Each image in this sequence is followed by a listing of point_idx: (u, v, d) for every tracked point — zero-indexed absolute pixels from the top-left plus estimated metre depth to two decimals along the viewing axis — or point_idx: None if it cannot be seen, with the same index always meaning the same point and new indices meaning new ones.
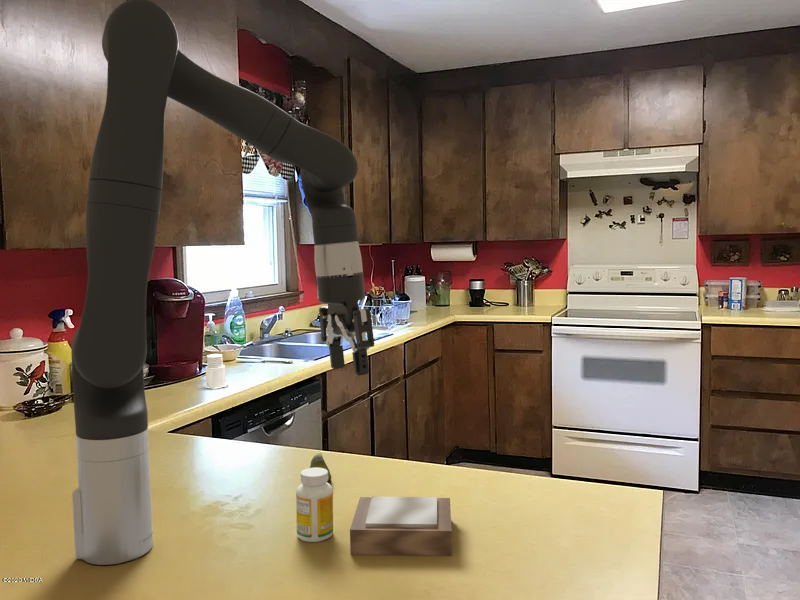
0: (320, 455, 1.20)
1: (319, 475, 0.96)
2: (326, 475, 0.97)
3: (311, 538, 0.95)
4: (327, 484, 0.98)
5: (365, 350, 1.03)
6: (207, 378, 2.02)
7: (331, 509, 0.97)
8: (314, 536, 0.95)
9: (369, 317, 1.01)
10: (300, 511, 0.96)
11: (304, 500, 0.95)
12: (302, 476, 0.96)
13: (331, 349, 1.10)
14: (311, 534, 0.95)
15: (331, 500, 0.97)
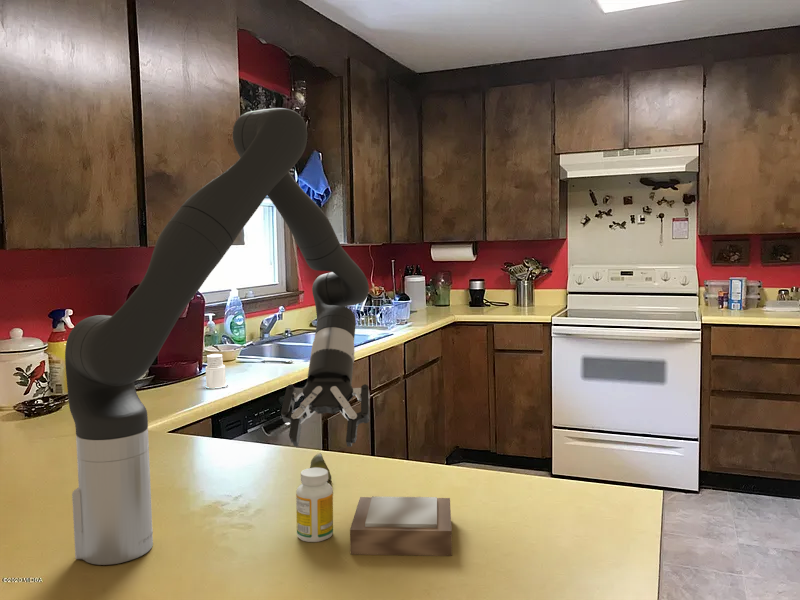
0: (320, 455, 1.20)
1: (319, 475, 0.96)
2: (326, 475, 0.97)
3: (311, 538, 0.95)
4: (327, 484, 0.98)
5: (358, 423, 1.07)
6: (207, 378, 2.02)
7: (331, 509, 0.97)
8: (314, 536, 0.95)
9: (369, 398, 1.11)
10: (300, 511, 0.96)
11: (304, 500, 0.95)
12: (302, 476, 0.96)
13: (298, 421, 1.06)
14: (311, 534, 0.95)
15: (331, 500, 0.97)
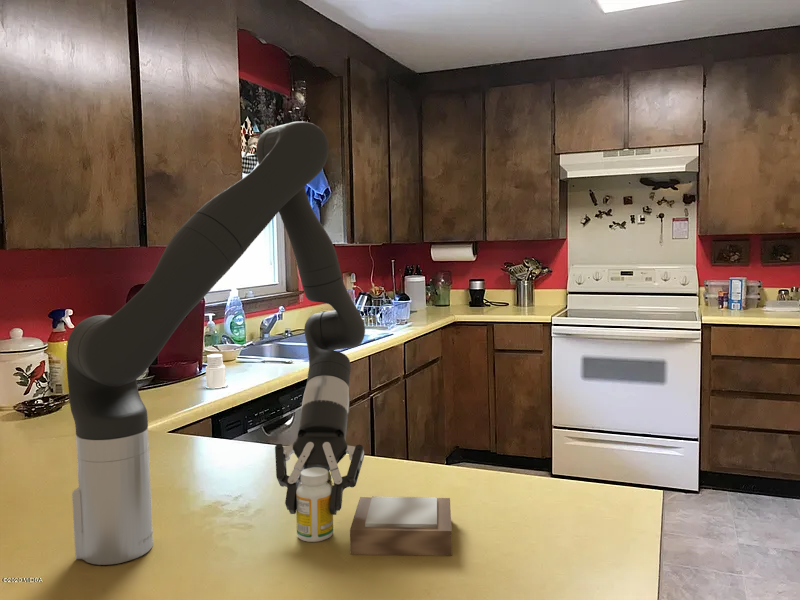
0: None
1: (319, 475, 0.96)
2: (326, 475, 0.97)
3: (311, 538, 0.95)
4: (327, 484, 0.98)
5: (342, 489, 0.98)
6: (207, 378, 2.02)
7: None
8: (314, 536, 0.95)
9: (362, 459, 1.02)
10: (300, 511, 0.96)
11: (304, 499, 0.95)
12: (302, 476, 0.96)
13: (295, 487, 0.98)
14: (311, 533, 0.95)
15: None
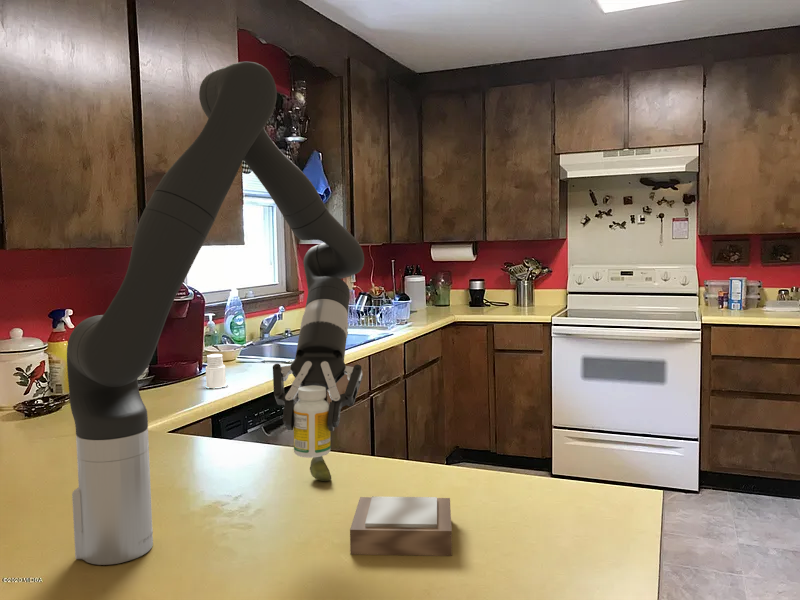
0: None
1: (317, 390, 0.95)
2: (324, 391, 0.96)
3: (308, 453, 0.95)
4: (325, 401, 0.97)
5: (340, 407, 0.98)
6: (207, 378, 2.02)
7: None
8: (311, 451, 0.95)
9: (360, 380, 1.01)
10: (297, 426, 0.95)
11: (302, 414, 0.94)
12: (300, 391, 0.95)
13: (293, 403, 0.97)
14: (308, 449, 0.94)
15: None
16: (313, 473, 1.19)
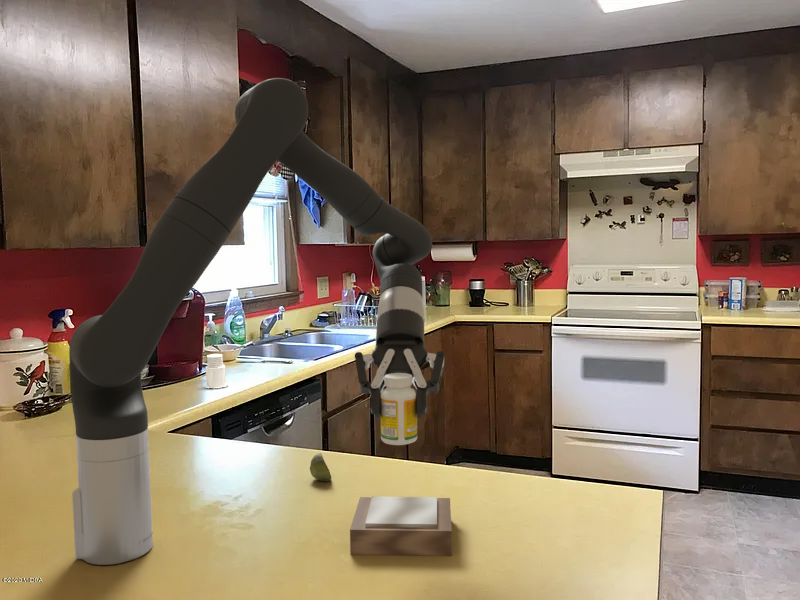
0: (320, 455, 1.20)
1: (405, 378, 0.94)
2: (411, 378, 0.95)
3: (398, 441, 0.94)
4: (411, 388, 0.97)
5: (426, 394, 0.97)
6: (207, 378, 2.02)
7: (416, 413, 0.96)
8: (400, 439, 0.94)
9: (443, 367, 1.01)
10: (386, 414, 0.95)
11: (390, 402, 0.94)
12: (387, 379, 0.95)
13: (379, 391, 0.96)
14: (398, 436, 0.94)
15: (416, 404, 0.96)
16: (313, 473, 1.19)
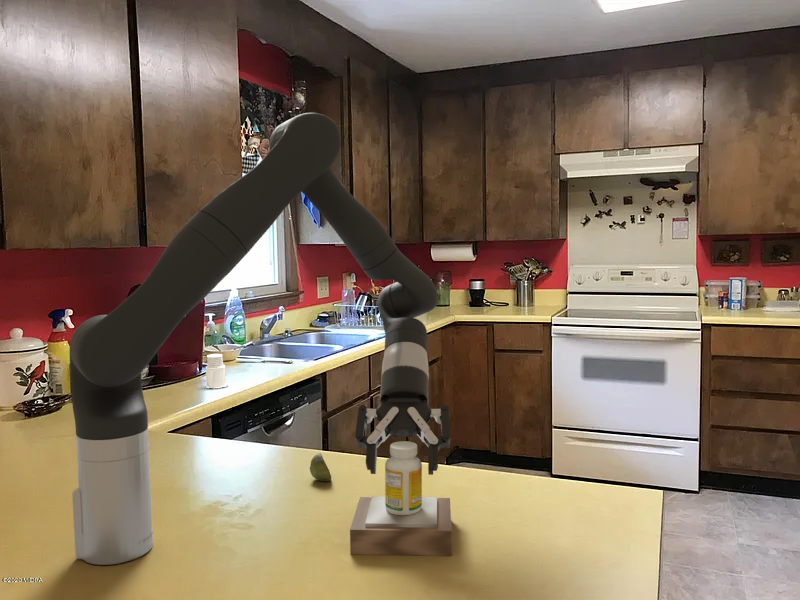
0: (320, 455, 1.20)
1: (410, 448, 0.95)
2: (416, 448, 0.96)
3: (402, 511, 0.95)
4: (416, 457, 0.97)
5: (439, 449, 0.98)
6: (207, 378, 2.02)
7: (421, 483, 0.96)
8: (405, 510, 0.95)
9: None
10: (391, 484, 0.95)
11: (395, 472, 0.94)
12: (392, 449, 0.95)
13: (375, 447, 0.97)
14: (402, 507, 0.94)
15: (421, 473, 0.96)
16: (313, 473, 1.19)
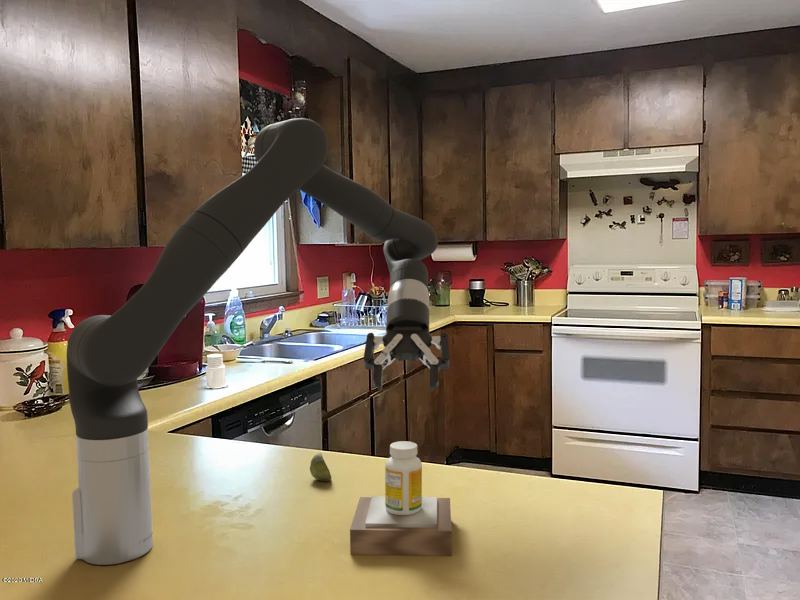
0: (320, 455, 1.20)
1: (410, 448, 0.95)
2: (416, 448, 0.96)
3: (402, 511, 0.95)
4: (416, 457, 0.97)
5: (439, 369, 1.10)
6: (207, 378, 2.02)
7: (421, 483, 0.96)
8: (405, 510, 0.95)
9: None
10: (391, 484, 0.95)
11: (395, 472, 0.94)
12: (392, 449, 0.95)
13: (381, 367, 1.09)
14: (402, 507, 0.94)
15: (421, 473, 0.96)
16: (313, 473, 1.19)
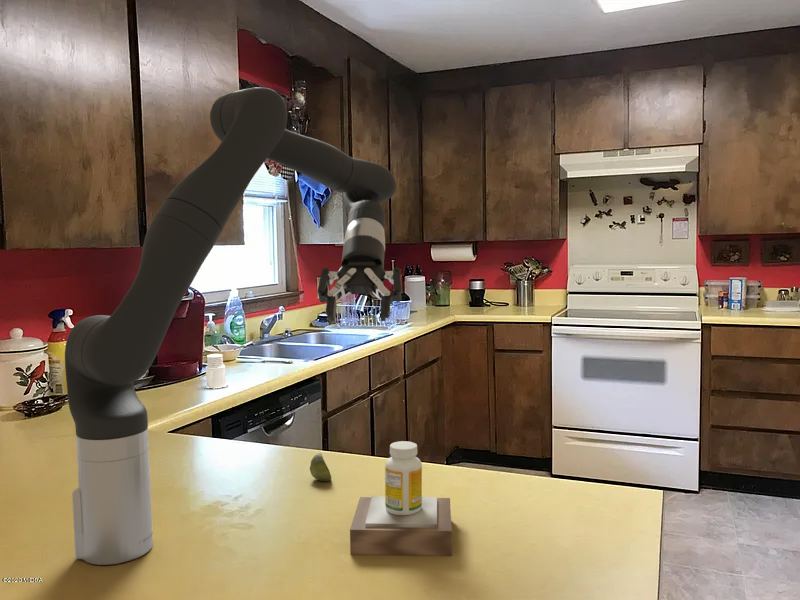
0: (320, 455, 1.20)
1: (410, 448, 0.95)
2: (416, 448, 0.96)
3: (402, 511, 0.95)
4: (416, 457, 0.97)
5: (391, 301, 1.13)
6: (207, 378, 2.02)
7: (421, 483, 0.96)
8: (405, 510, 0.95)
9: None
10: (391, 484, 0.95)
11: (395, 472, 0.94)
12: (392, 449, 0.95)
13: (334, 298, 1.12)
14: (402, 507, 0.94)
15: (421, 473, 0.96)
16: (313, 473, 1.19)
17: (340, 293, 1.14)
